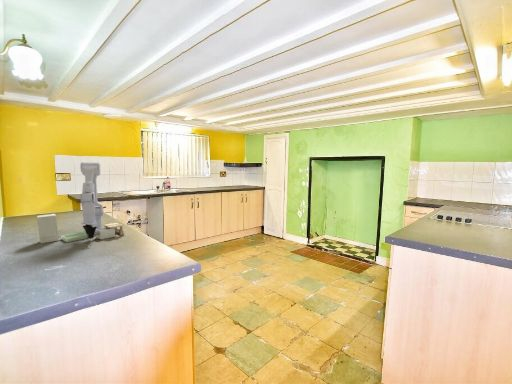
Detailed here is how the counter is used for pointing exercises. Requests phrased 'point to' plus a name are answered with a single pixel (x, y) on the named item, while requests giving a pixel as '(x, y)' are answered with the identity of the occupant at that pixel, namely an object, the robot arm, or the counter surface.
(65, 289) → the counter surface
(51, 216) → the skincare box
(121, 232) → the beige block
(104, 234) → the white block with post
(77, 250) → the counter surface
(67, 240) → the tray
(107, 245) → the counter surface
